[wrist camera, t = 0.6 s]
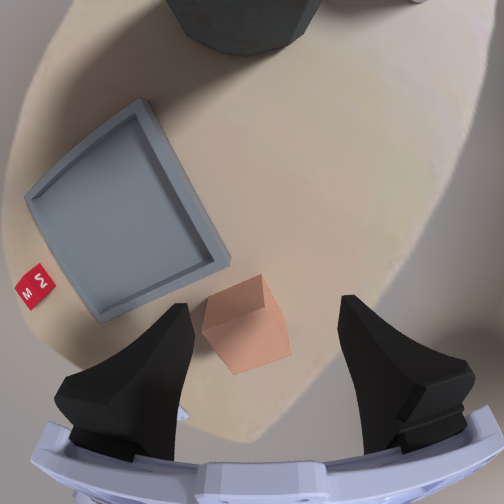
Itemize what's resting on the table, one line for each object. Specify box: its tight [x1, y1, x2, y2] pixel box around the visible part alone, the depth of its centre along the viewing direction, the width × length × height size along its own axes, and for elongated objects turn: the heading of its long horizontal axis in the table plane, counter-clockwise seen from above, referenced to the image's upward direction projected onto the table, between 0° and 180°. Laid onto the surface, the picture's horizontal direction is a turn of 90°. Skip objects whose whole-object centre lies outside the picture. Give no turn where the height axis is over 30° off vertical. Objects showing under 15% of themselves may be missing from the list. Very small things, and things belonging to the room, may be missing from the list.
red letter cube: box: [15, 263, 56, 310], centre depth 22 cm, size 3×3×3 cm
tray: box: [24, 98, 231, 324], centre depth 20 cm, size 14×14×2 cm
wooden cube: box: [201, 274, 292, 375], centre depth 22 cm, size 5×5×5 cm
